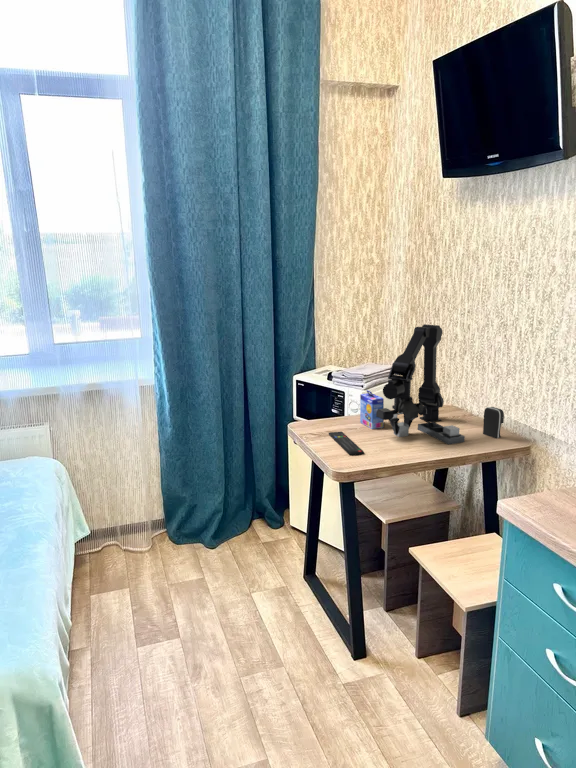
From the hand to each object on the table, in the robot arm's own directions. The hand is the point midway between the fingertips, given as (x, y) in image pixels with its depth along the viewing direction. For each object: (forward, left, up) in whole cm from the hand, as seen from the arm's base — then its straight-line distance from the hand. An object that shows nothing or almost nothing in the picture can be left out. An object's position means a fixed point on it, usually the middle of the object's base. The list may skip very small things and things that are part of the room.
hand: (400, 433), depth 216 cm
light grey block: (+13, +13, 0) cm, 18 cm away
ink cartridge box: (-17, -3, -2) cm, 17 cm away
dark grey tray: (+6, +13, -1) cm, 15 cm away
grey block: (0, 0, -1) cm, 1 cm away
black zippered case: (+14, +31, -2) cm, 34 cm away
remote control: (-1, -23, -2) cm, 23 cm away
